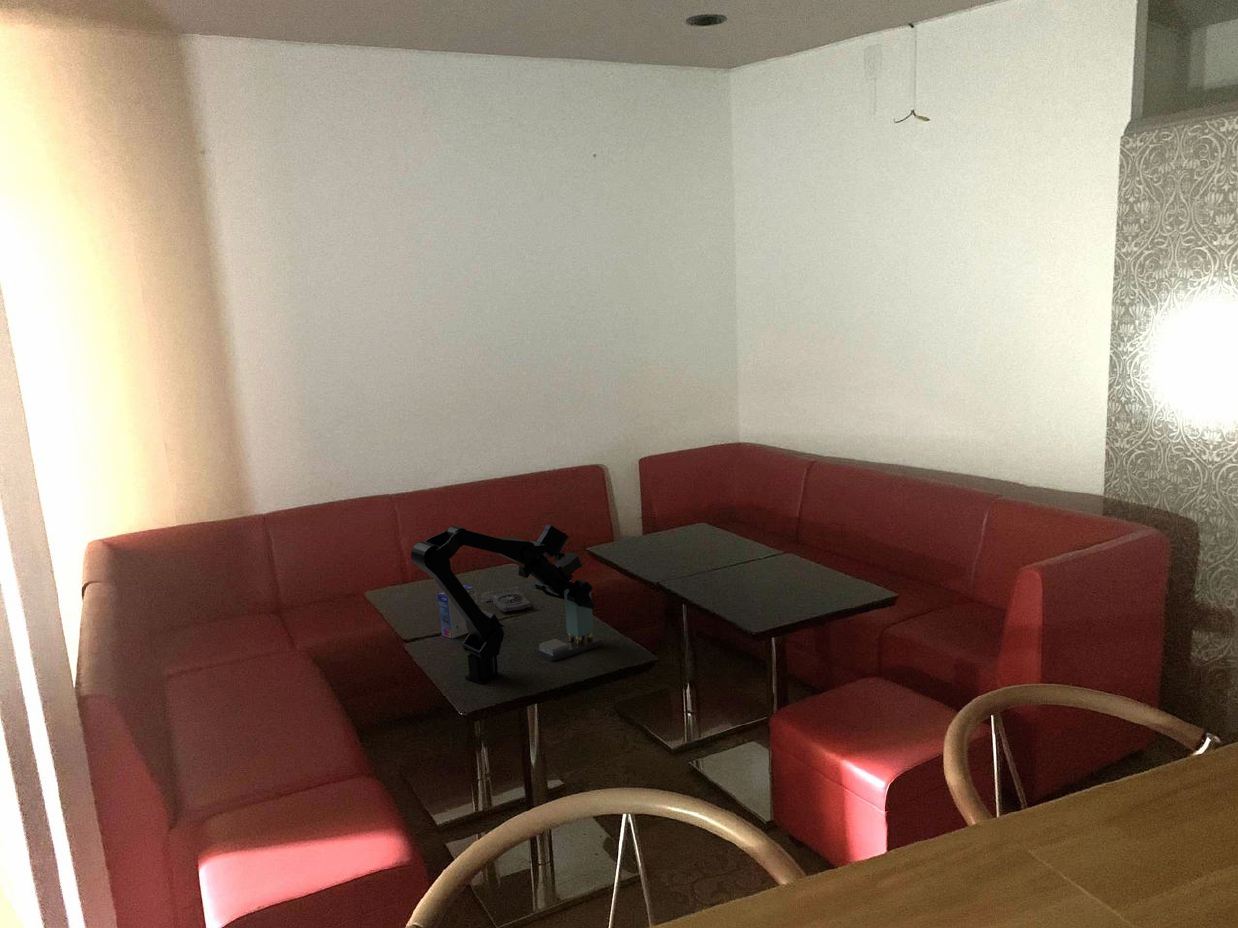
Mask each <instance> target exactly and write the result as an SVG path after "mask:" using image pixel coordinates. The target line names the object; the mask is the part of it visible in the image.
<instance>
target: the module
mask: <svg viewBox="0 0 1238 928" xmlns="http://www.w3.org/2000/svg"><path fill="white" fill-rule="evenodd" d="M568 592H569V591H566V590H565V591H564V599H565V600H564V599H563V600H564V609H565V610H564V611H565V613H564V614H565V622H566V624H565V625H566V633H567V634H568V635H569V634H571V635H574V636H576V637H581V636H584V635H587V634H590V633H592V634H593V633H594V620H593V619H594V618H593V609H590V608H585V607H580V606H576V605H573V604H572V603H571V602H569V601H568V600H567V594H568ZM589 595H590V598H591V599H592V590H591V591H590V593H589Z"/></svg>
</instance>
